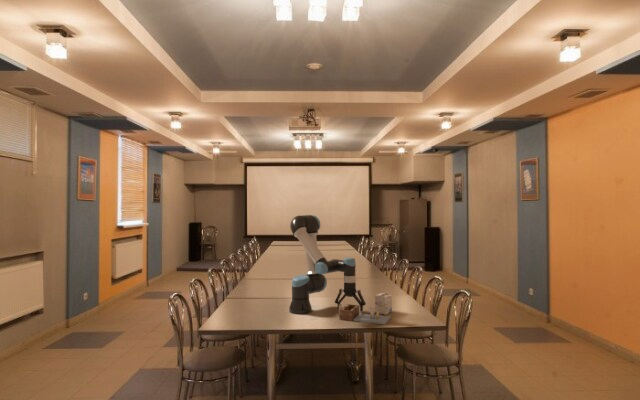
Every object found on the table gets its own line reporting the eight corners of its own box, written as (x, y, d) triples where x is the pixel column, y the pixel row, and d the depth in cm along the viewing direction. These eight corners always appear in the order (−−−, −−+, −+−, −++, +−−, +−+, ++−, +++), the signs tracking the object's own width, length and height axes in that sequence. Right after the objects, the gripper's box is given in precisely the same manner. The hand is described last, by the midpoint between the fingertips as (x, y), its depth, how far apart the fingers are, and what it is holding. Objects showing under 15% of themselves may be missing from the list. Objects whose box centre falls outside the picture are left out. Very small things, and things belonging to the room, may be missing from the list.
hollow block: (351, 321, 263) (351, 311, 263) (339, 319, 266) (339, 310, 266) (359, 314, 278) (359, 305, 278) (347, 313, 281) (347, 304, 281)
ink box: (381, 309, 290) (381, 290, 290) (392, 312, 285) (392, 292, 285) (374, 312, 283) (374, 292, 283) (385, 314, 278) (385, 294, 278)
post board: (353, 320, 264) (353, 309, 264) (360, 315, 277) (360, 304, 277) (385, 324, 256) (385, 312, 256) (390, 318, 269) (390, 307, 269)
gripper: (329, 281, 274) (329, 314, 273) (366, 284, 264) (367, 318, 264) (333, 279, 281) (334, 312, 280) (370, 282, 271) (370, 315, 271)
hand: (350, 315), depth 272 cm, fingers open, 13 cm apart
